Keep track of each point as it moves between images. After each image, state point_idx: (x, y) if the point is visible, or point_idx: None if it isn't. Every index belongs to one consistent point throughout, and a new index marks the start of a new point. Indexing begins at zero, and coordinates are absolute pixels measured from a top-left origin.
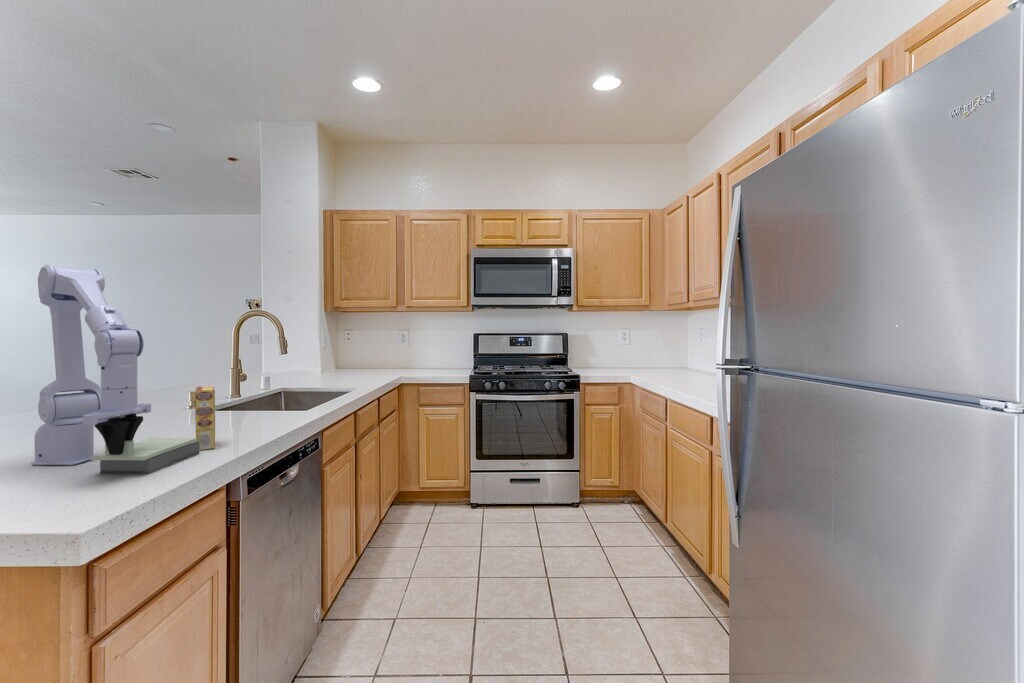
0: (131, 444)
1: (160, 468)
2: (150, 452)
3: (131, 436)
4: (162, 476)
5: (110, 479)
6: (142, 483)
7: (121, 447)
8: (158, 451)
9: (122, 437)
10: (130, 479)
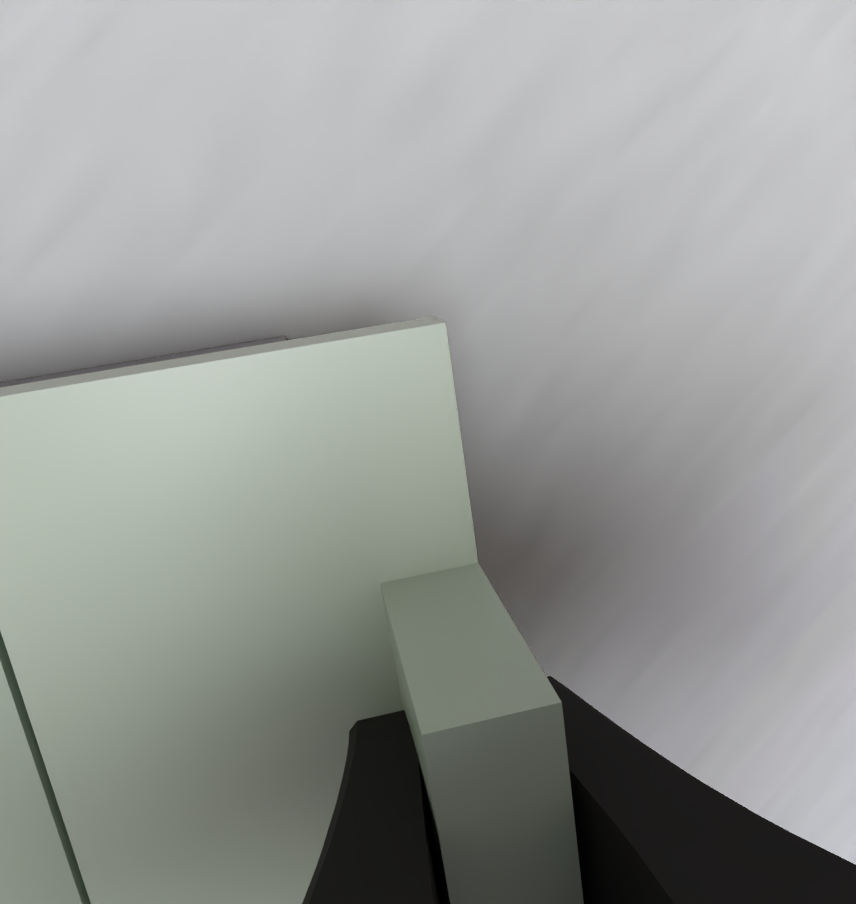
0: (471, 676)
1: (68, 374)
2: (175, 456)
3: (404, 894)
4: (348, 42)
5: (543, 558)
6: (632, 56)
7: (590, 725)
8: (59, 385)
9: (713, 847)
10: (516, 347)
